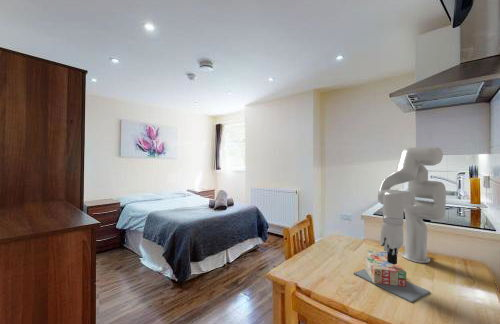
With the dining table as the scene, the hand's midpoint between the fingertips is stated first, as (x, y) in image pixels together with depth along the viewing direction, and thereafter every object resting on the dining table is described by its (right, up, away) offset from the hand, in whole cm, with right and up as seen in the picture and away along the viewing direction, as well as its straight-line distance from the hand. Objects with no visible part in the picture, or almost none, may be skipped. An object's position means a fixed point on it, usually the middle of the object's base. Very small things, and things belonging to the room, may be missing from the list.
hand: (392, 262), depth 99 cm
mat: (-2, -8, -1) cm, 8 cm away
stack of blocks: (+5, -5, +5) cm, 8 cm away
